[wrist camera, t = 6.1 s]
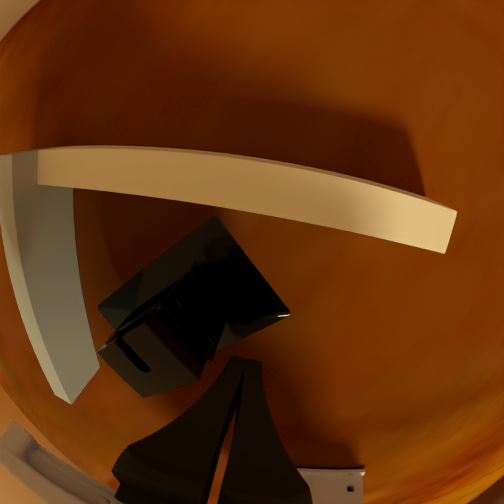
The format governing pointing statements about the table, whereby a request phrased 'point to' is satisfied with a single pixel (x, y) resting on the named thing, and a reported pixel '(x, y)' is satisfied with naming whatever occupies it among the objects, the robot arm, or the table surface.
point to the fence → (175, 188)
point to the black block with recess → (186, 311)
